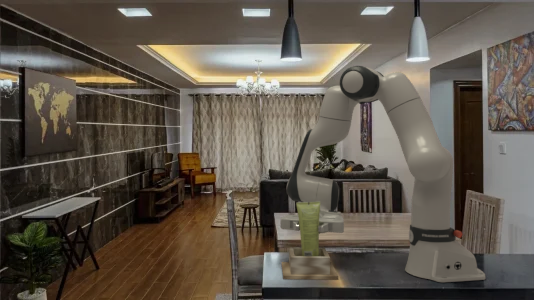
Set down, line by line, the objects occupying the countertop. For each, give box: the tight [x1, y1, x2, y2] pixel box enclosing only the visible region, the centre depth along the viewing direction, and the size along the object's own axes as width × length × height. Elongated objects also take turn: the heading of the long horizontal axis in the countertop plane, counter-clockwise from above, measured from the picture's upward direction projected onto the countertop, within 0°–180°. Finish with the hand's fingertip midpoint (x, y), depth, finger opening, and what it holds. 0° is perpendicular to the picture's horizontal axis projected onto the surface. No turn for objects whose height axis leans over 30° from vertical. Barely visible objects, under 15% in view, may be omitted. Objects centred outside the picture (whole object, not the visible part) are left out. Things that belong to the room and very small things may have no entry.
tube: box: [295, 201, 321, 256], centre depth 131 cm, size 6×5×20 cm
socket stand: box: [281, 246, 339, 281], centre depth 131 cm, size 16×14×6 cm
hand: (308, 228), depth 130 cm, fingers closed on tube, 6 cm apart
